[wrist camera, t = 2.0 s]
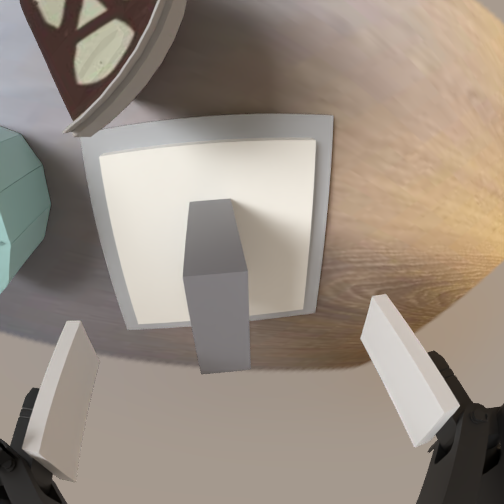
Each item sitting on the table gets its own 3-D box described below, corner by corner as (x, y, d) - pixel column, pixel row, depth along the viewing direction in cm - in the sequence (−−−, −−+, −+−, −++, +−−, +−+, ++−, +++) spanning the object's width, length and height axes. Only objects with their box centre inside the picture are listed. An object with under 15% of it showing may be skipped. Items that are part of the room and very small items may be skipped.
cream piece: (139, 315, 23) (124, 410, 16) (103, 153, 17) (36, 207, 9) (299, 301, 25) (336, 390, 17) (310, 137, 18) (384, 179, 11)
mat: (128, 326, 24) (127, 330, 24) (82, 133, 16) (79, 134, 16) (313, 309, 26) (315, 312, 26) (330, 114, 18) (333, 115, 18)
